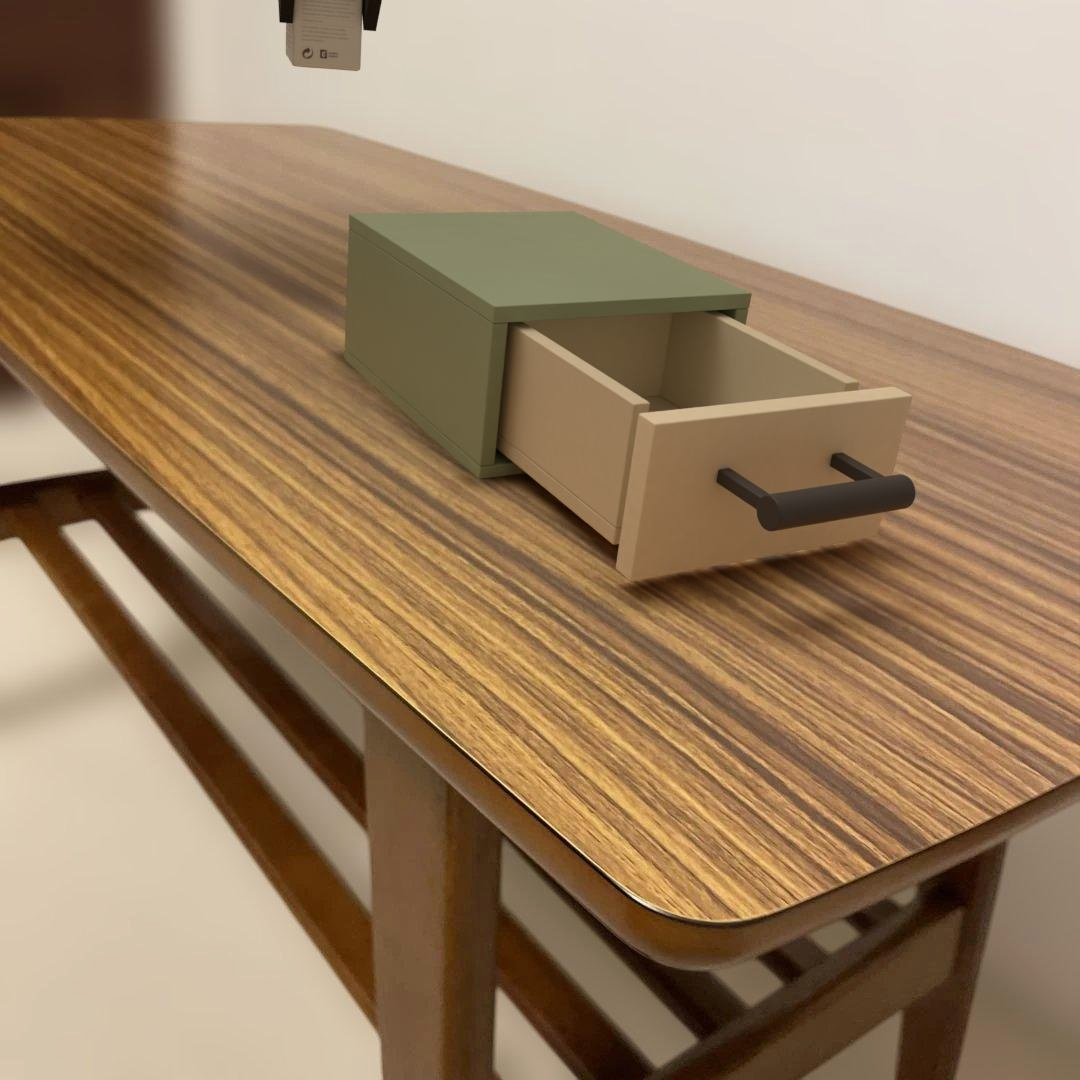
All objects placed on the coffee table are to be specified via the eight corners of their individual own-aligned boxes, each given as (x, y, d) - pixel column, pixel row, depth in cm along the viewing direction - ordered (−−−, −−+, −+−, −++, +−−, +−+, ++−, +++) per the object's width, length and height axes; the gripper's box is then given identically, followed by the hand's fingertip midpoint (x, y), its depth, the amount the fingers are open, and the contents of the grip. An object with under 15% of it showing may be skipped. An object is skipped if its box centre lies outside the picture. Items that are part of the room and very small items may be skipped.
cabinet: (723, 451, 66) (752, 293, 62) (478, 482, 59) (494, 306, 55) (558, 346, 79) (574, 211, 75) (343, 361, 72) (348, 213, 68)
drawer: (945, 579, 52) (988, 431, 49) (691, 634, 46) (722, 467, 43) (670, 407, 68) (690, 287, 65) (452, 430, 62) (462, 297, 59)
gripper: (432, -221, 85) (462, 65, 78) (170, -260, 80) (177, 41, 73) (453, -324, 78) (488, -20, 71) (167, -374, 73) (175, -54, 66)
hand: (330, 10), depth 72 cm, fingers closed on cosmetic box, 4 cm apart
